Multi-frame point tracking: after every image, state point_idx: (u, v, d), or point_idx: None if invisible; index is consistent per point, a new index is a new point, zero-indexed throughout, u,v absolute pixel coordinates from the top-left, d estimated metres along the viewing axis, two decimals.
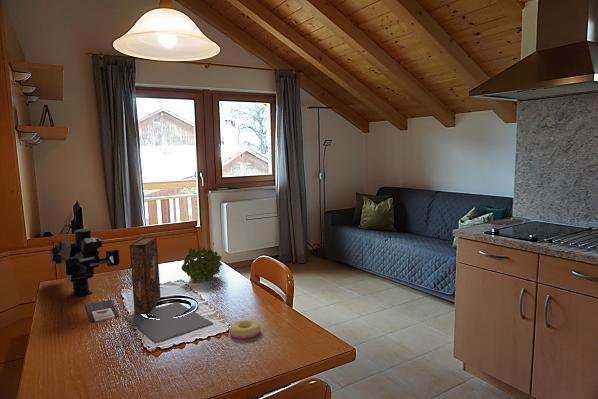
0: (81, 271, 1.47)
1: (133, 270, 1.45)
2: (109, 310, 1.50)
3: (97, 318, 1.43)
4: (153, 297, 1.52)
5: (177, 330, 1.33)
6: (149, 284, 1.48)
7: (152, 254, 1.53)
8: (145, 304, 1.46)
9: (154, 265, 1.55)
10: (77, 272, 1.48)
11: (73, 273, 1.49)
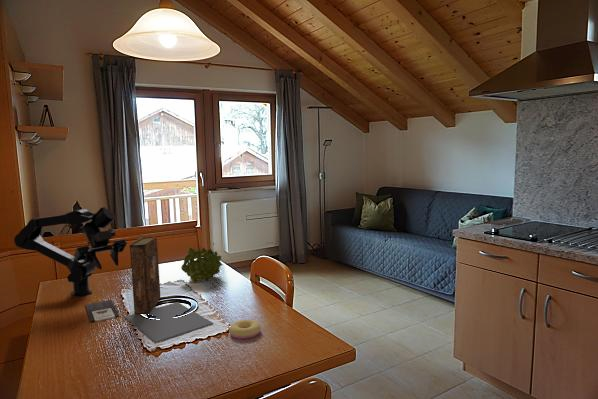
0: (95, 265, 1.57)
1: (133, 270, 1.45)
2: (109, 310, 1.50)
3: (97, 318, 1.43)
4: (153, 297, 1.52)
5: (177, 330, 1.33)
6: (149, 284, 1.48)
7: (152, 254, 1.53)
8: (145, 304, 1.46)
9: (154, 265, 1.55)
10: (90, 262, 1.57)
11: (86, 260, 1.58)
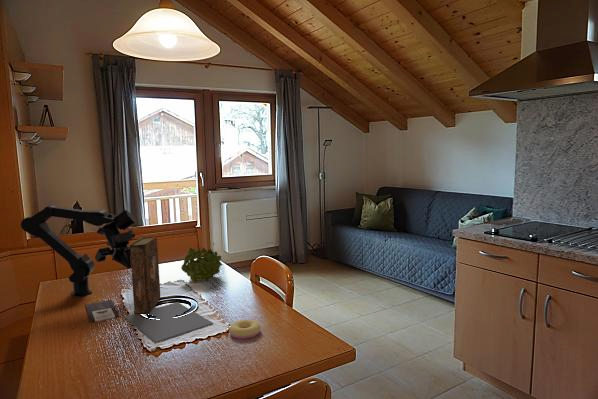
0: (123, 264, 1.62)
1: (133, 270, 1.45)
2: (109, 310, 1.50)
3: (97, 318, 1.43)
4: (153, 297, 1.52)
5: (177, 330, 1.33)
6: (149, 284, 1.48)
7: (152, 254, 1.53)
8: (145, 304, 1.46)
9: (154, 265, 1.55)
10: (118, 261, 1.62)
11: (114, 259, 1.63)
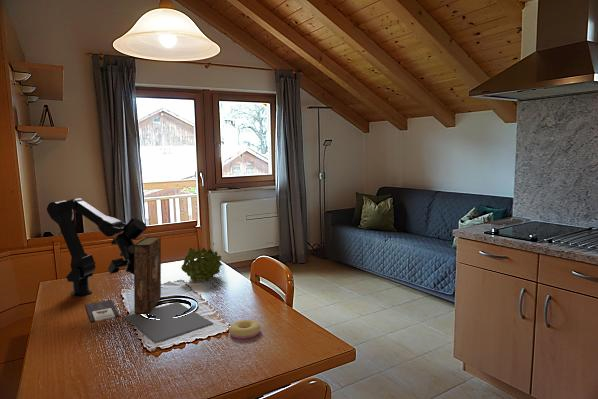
0: None
1: (136, 269, 1.44)
2: (109, 310, 1.50)
3: (97, 318, 1.43)
4: (153, 297, 1.52)
5: (177, 330, 1.33)
6: (151, 284, 1.48)
7: (155, 254, 1.53)
8: (145, 304, 1.46)
9: (157, 265, 1.55)
10: (132, 272, 1.56)
11: (127, 271, 1.56)
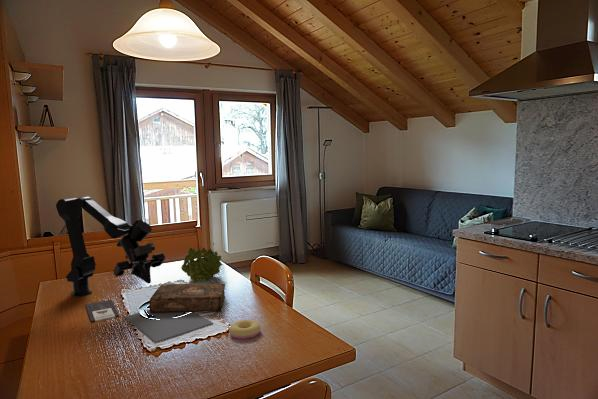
0: (142, 279, 1.53)
1: (195, 301, 1.47)
2: (109, 310, 1.50)
3: (97, 318, 1.43)
4: None
5: (177, 330, 1.33)
6: None
7: None
8: (159, 310, 1.47)
9: None
10: (137, 275, 1.54)
11: (133, 273, 1.54)
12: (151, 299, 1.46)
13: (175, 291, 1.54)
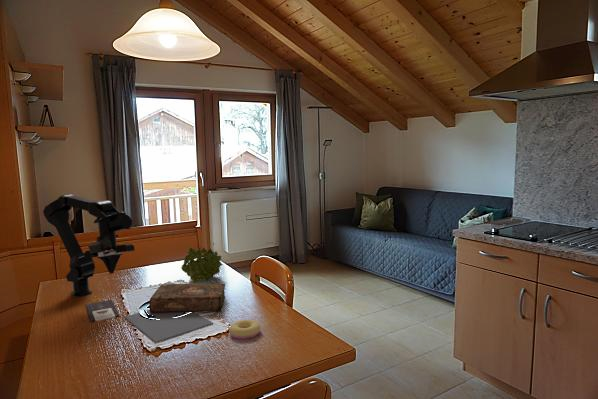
0: None
1: (195, 301, 1.47)
2: (109, 310, 1.50)
3: (97, 318, 1.43)
4: None
5: (177, 330, 1.33)
6: None
7: None
8: (159, 310, 1.47)
9: None
10: None
11: None
12: (151, 299, 1.46)
13: (175, 291, 1.54)
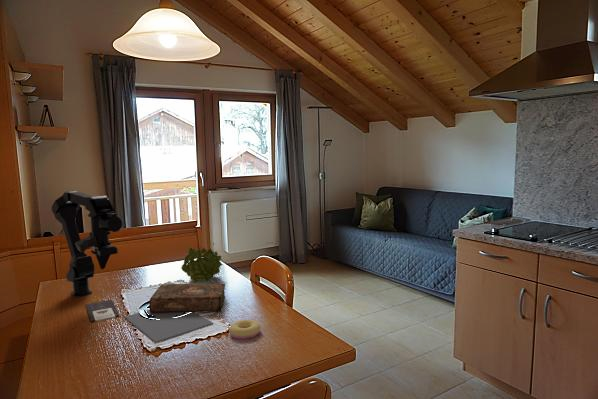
0: None
1: (195, 301, 1.47)
2: (109, 310, 1.50)
3: (97, 318, 1.43)
4: None
5: (177, 330, 1.33)
6: None
7: None
8: (159, 310, 1.47)
9: None
10: None
11: None
12: (151, 299, 1.46)
13: (175, 291, 1.54)
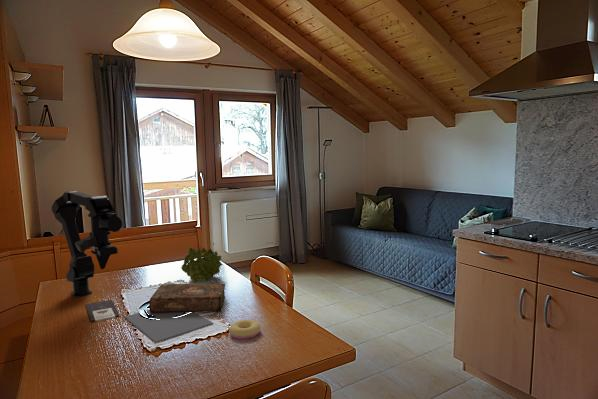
0: None
1: (195, 301, 1.47)
2: (109, 310, 1.50)
3: (97, 318, 1.43)
4: None
5: (177, 330, 1.33)
6: None
7: None
8: (159, 310, 1.47)
9: None
10: None
11: None
12: (151, 299, 1.46)
13: (175, 291, 1.54)
